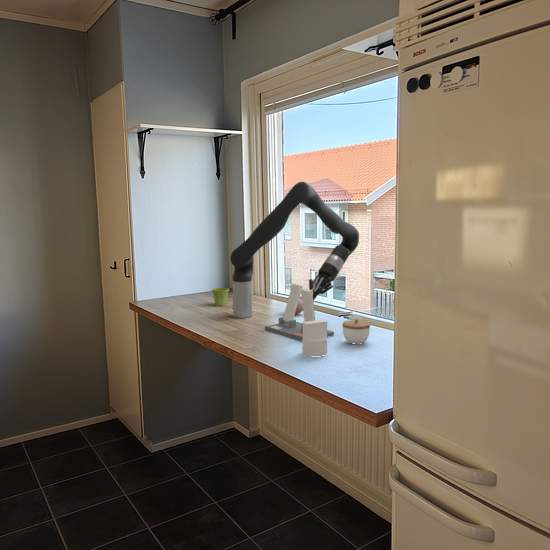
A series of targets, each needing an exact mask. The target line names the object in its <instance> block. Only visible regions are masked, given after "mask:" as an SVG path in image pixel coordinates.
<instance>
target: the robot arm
mask: <svg viewBox="0 0 550 550" xmlns="http://www.w3.org/2000/svg"><path fill="white" fill-rule="evenodd" d="M300 204H301V205H304V206H305V207H307V208H309V209H310V210H311V211H312V212H313V213H314V214H316V215H317V217H318V218H319V219H320V221H321V222H322V223H323V224H324V225H325V226H326V227H327V229H329V230H330V231H331V232H332V233H333V234H336V235H340V236H341V237H342V238H341V239H342V240H341V242H340V244H338V245H336V246H334V248H333V249H332V251H331V252H330V254H329V255H328V256H327V257H326V258H325V260H324V262H323V263H322V265H321V266H320V268H319V269H318V274H317V275H316V276H315V277H314V279H312V278H310V279H309V280H308V288H309V290H313V302H314V300H316V298H317V296H318V295H320V294H321V295H324V294H325V293H327V292H328V291H329V290H331V289H333V288H334V285H333V284H332V282H334V281H335V280H336V277H337V276H338V275H339V273H340V272H341V270H342V269H343V267H344V265H345V263H346V262H347V260H348V258H349V256H351V255H352V254H353V252H354V251H356V249H357V247H358V246H359V243H360V233H359V231H358V229H357V227H355V226H354V225H352V224H350V223H349V222H347V221H345V220H344V219H343V218H342V217H341V216H340V215H339V214H338V213H336V211H335V210H333V209H332V208H331V207H330V206H328V204H326V202H325V201H323V199H322V198H321V197H320V195H319V194H318V192H317V190H316V189H315V188H314V187H313V186H312V185H311V184H310V183H308V182H305V181H299V182H297V183H295V184H294V185H293V186H292V187H291V189H290V190H289V191H288V192H287V194H286V195H285V197H284V198H283V199H282V200H281V201H280V202H279V203H278V205H277V206H275V208H274V209H273V210H272V211H271V212H270V213H269V214H268V215H267V216H266V217H265V218H264V219H263V220H262V221H261V222H260V223H259V224H258V226H257V227H256V228H255V229H254V230H253V231H252V233H251V234H250V235H249V236H248V238H247V239H245V240H244V241H243V242H242V243H241V244H240V245H238V246H237V247H236V248H235V249H233V251H231V254H230V258H229V259H230V263H231V264H232V266H234V270H233V275H232V317H233V318H239V319H241V318H242V319H244V318H250V317H253V275H254V255H255V254H256V253H257V252H258V251H259V250H260V249H261V248H263V247H264V246H265V245H267V244H268V243H269V242H270V241H271V240H273V239H274V238H275V237H277V235H278V234H279V233H281V232H282V230H284V228H285V226H286V224H287V222H288V220H289V218H290V215H291V213H292V212H293V211H294V210H295V209H296V208H297V206H299V205H300Z"/></svg>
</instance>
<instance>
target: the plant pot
mask: <svg viewBox="0 0 550 550" xmlns="http://www.w3.org/2000/svg"><path fill="white" fill-rule="evenodd" d="M229 291H230V288H227V287H215V288H211V292H212V295H213V301H214V306H215V307H216V306H217V307H220V306H221V307H225V306H227V304H228V303H227V302H228V295H229Z"/></svg>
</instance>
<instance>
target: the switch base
mask: <svg viewBox="0 0 550 550" xmlns="http://www.w3.org/2000/svg"><path fill="white" fill-rule="evenodd" d="M282 321H283V316H282V317H281V316H280V317H278V323H274V324H269V325H265V326H264V330H265V331H268V332H272V333H275V334H278V335H282V336H284V337H288V338H290V337H291V338H290V339H294V340H297V339H298V340H297V341H300V340H302V341H301V342H303V322H299V321H297V320H296V319H293V320H290V321H289V324H285V323H283V322H282ZM332 335H334V336H335V332H334V331H332V330H328V329H327V338H329V337H333V336H332ZM328 336H329V337H328Z"/></svg>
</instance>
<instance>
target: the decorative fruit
mask: <svg viewBox="0 0 550 550" xmlns="http://www.w3.org/2000/svg"><path fill="white" fill-rule="evenodd" d="M288 298H289V296H288V297H287V298H286V303H287V302H288ZM302 312H303V303H302V295H300V297H299V301H298V305H297V308H296V312H295V315H299V314H300V313H302Z"/></svg>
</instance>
